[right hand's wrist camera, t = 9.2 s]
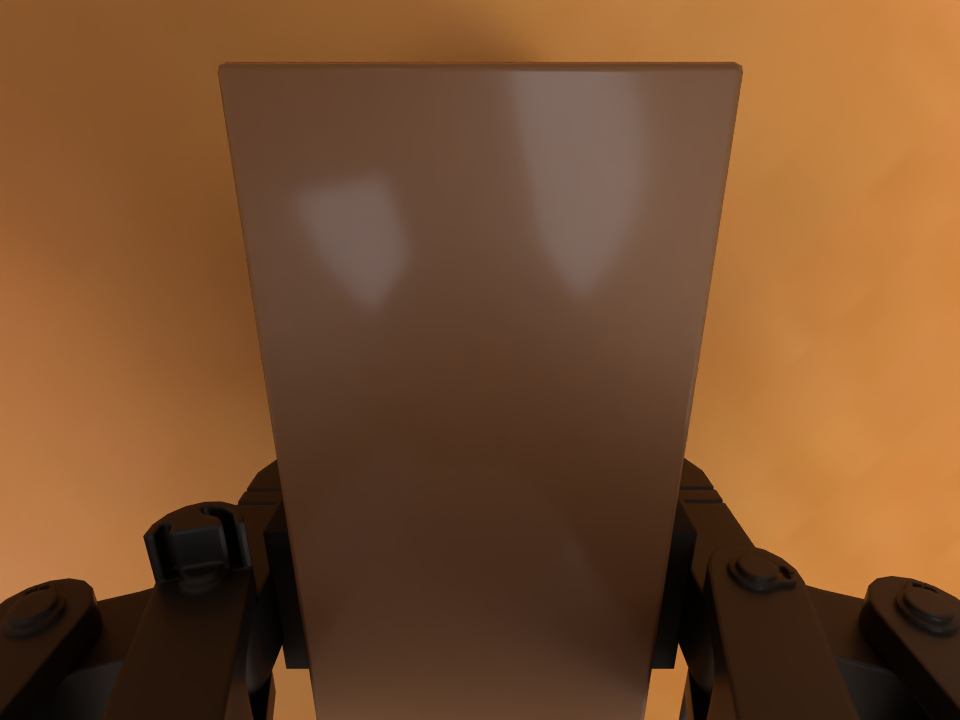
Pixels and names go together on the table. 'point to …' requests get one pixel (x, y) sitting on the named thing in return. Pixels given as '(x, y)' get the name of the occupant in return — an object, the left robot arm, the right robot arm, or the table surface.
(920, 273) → the table surface
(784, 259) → the table surface
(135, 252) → the table surface
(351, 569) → the bar
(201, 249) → the table surface
